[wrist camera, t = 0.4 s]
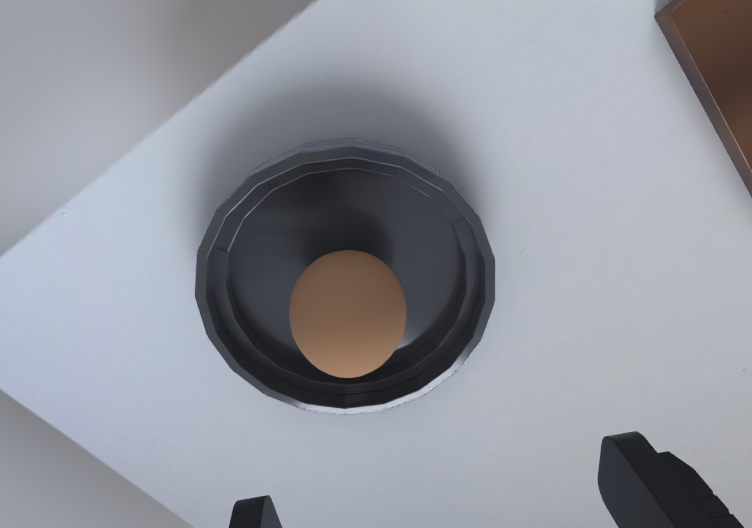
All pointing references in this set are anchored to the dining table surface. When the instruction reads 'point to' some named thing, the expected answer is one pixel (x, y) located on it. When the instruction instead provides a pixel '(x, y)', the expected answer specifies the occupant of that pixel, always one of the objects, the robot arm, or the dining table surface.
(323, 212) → the pan
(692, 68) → the board
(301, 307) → the egg
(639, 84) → the dining table surface
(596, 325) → the dining table surface
